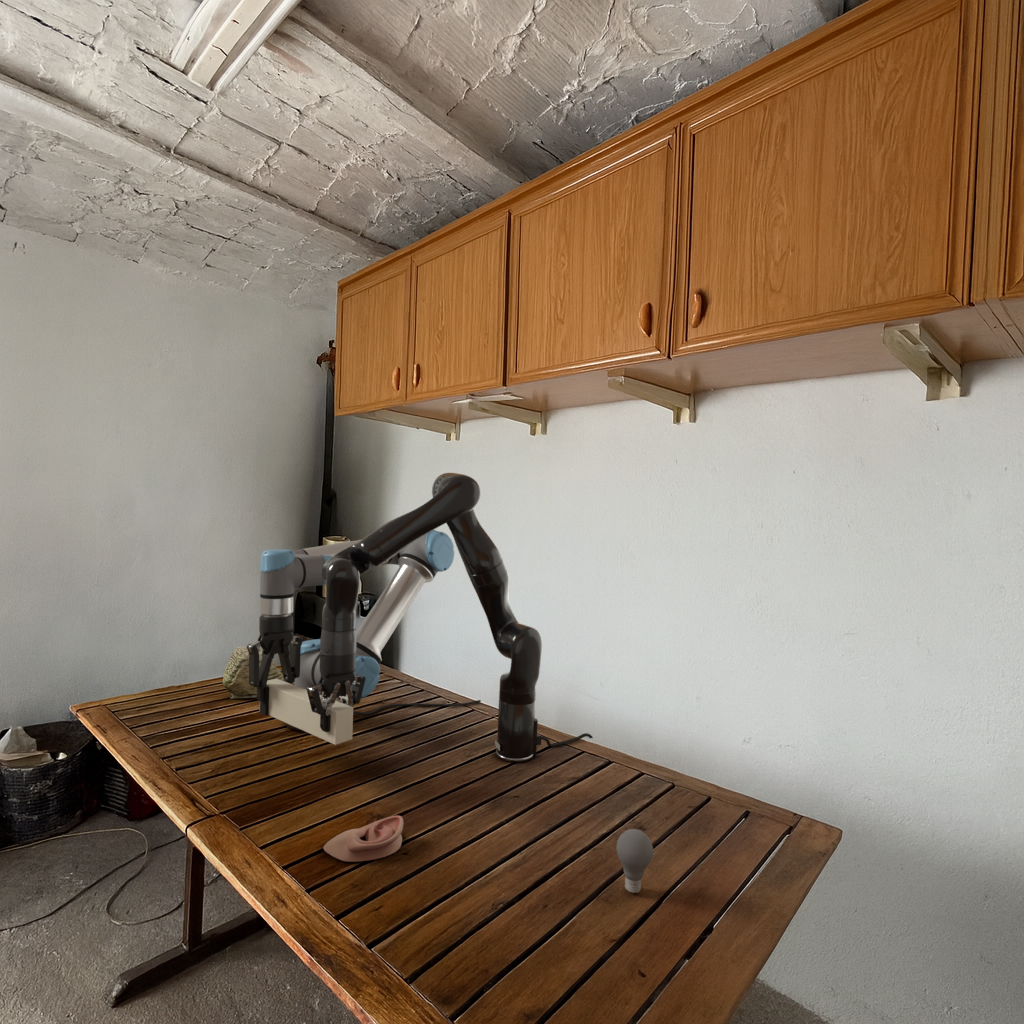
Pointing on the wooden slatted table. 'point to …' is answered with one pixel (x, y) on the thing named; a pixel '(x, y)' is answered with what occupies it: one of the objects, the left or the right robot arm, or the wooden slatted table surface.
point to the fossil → (244, 674)
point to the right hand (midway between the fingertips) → (335, 727)
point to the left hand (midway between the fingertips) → (274, 710)
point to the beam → (308, 712)
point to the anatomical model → (367, 841)
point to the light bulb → (634, 857)
